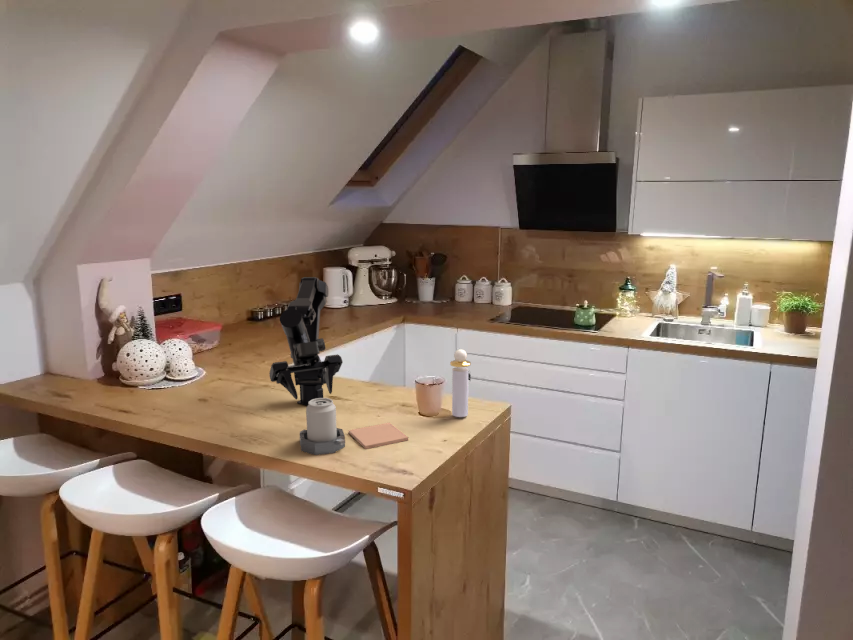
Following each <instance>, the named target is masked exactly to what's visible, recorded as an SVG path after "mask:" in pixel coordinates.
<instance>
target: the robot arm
mask: <svg viewBox="0 0 853 640" xmlns="http://www.w3.org/2000/svg"><path fill="white" fill-rule="evenodd" d="M298 285H299V287H298V293H297V295H296V298H295V300H292V301H290V302H289V303H288V305H287V307H286V309H284V311H283V312H282V313H281V314H280V316H279V322H280V325H281V328H282V330H283V333H284V334H285V336H286V339H287V343H288V347H289V351H290V358H291V359H292V363H293V364H292V365H289V364H288V361H286V360H284V361H278V362H273V363H271V366H270V370H269V379H270V382H271V383H272V382H273V383H274V382H276V384H279V385H281V386H283V388H285V390H287V391H288V392H289V394H290V395H291V396H292V397H293V398H294V400H297V401H296V404H298V405H303V406H306V407H307V406H308V405H309V404H308V402H309V401H310V400H312V399H316V398H324V388H323V386H324V385H325V384H326V388H327V391H328V393H329V394H330V395H331V394H332V393H333V381H334V376H335V375H336V374H337V373H339V372H340V370H341V367H342V364H343V359H342V356H340V355H339V354H331V355H325V357H324V359H323V361H322V360H321V357H320V356H319V354H320V352H324V351H325V350H326V344H325V341H324V338H322V337H321V338H319V337H320V335H319V334H320V323H321V322H320V321H321V320H320V319H321V311H322V309H323V308H324V307H325V306H326V305H327V304H326V303H327V298H328V297H329V286H328V284H327V282H325V281H322V280H321V279H319V277H316V276H308V277H307V276H304V277H301V278H300V282H299V284H298ZM292 374H293V375H294V376H293V377H294V380H293V378H292ZM296 386H299V395H300V397H299V399H300V400H298V393H297V389H296Z"/></svg>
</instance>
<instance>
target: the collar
mask: <svg viewBox="0 0 853 640" xmlns="http://www.w3.org/2000/svg"><path fill="white" fill-rule="evenodd" d="M336 428H337V438H335V439H333V440H331V441H321V442H314V441H311V440H307V429H303V430H300V431H299V446H301V447H300V451H301V452H302V451H304V452H303V453H306V452H307V453H306V454H311V455H313V454H314V455H315V456H318V455H319V454H320V455H327V454H329V453H330V454H334V453H336V451H337V452H339V451H340V450H342V449H343V448H345V447H346V437H345V434H344V433H345V432H344V430H343V428H340V427H339V428H338V427H336ZM320 455H319V456H320Z"/></svg>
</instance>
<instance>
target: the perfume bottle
mask: <svg viewBox="0 0 853 640" xmlns="http://www.w3.org/2000/svg"><path fill="white" fill-rule="evenodd" d="M467 357H468V354H467V351H466V350H465V349H462V348H459V349H457V350H455V351H454V354H453V358H454V360H450V364H449V365H450V366H452V367H453V368H452V372H451V373H452V377H451V378H452V379H451V380H452V381H451V382H452V386H451V389H452V390H451V391H452V392H451V409H452V410H451V414H452V416H453V417H456V418H464V417H467V416H468V415H469V381H471V371H470V370H469V368H468V367H470V366H471V364H472V363H471V361H469V360H467Z"/></svg>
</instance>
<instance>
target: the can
mask: <svg viewBox="0 0 853 640" xmlns="http://www.w3.org/2000/svg"><path fill="white" fill-rule="evenodd" d="M308 404H309V405H308V406H307V405H306V407H305V414H306V430H307V440H311V441H314V442H321V441H331V440H333V439H335V438H337V428H338V427H337V409H336V408H337V407H336V405H335V404H334V401H333V399H331V398H328V397H323V398H316V399H312V400H310V401H309V402H308Z"/></svg>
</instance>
